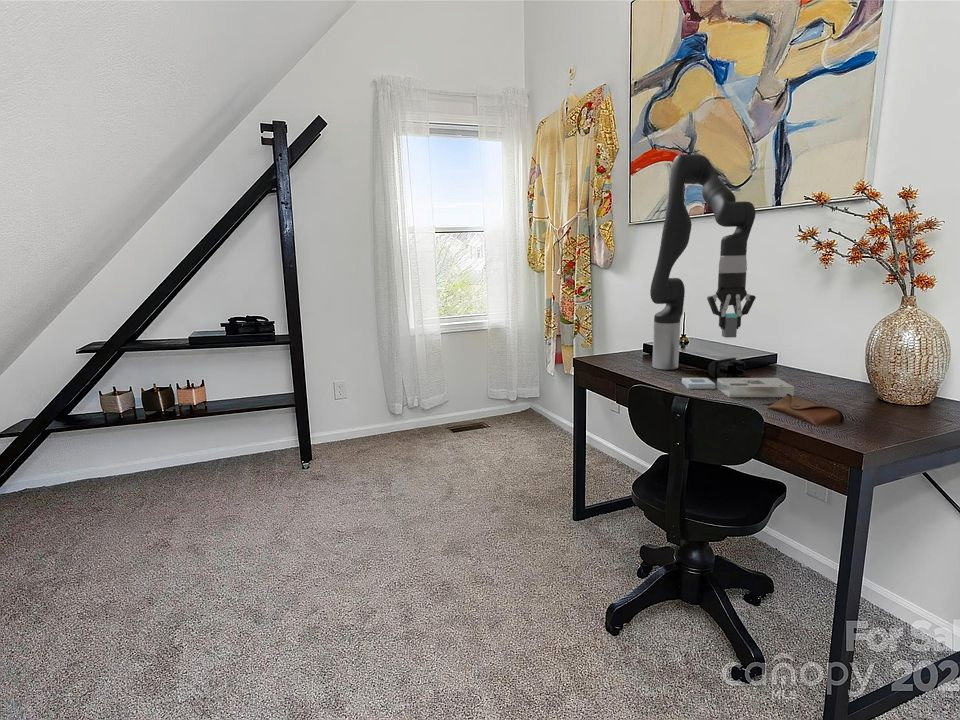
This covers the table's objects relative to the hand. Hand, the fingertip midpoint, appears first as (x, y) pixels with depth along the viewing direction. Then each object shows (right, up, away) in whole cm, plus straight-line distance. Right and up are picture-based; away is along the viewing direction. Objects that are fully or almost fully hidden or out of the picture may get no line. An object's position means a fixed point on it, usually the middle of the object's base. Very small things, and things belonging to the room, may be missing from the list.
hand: (729, 328), depth 164 cm
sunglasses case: (+10, -25, -19) cm, 33 cm away
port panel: (+7, -20, 0) cm, 21 cm away
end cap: (+8, -16, +21) cm, 28 cm away
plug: (0, -2, 0) cm, 2 cm away
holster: (-6, -19, +9) cm, 22 cm away
